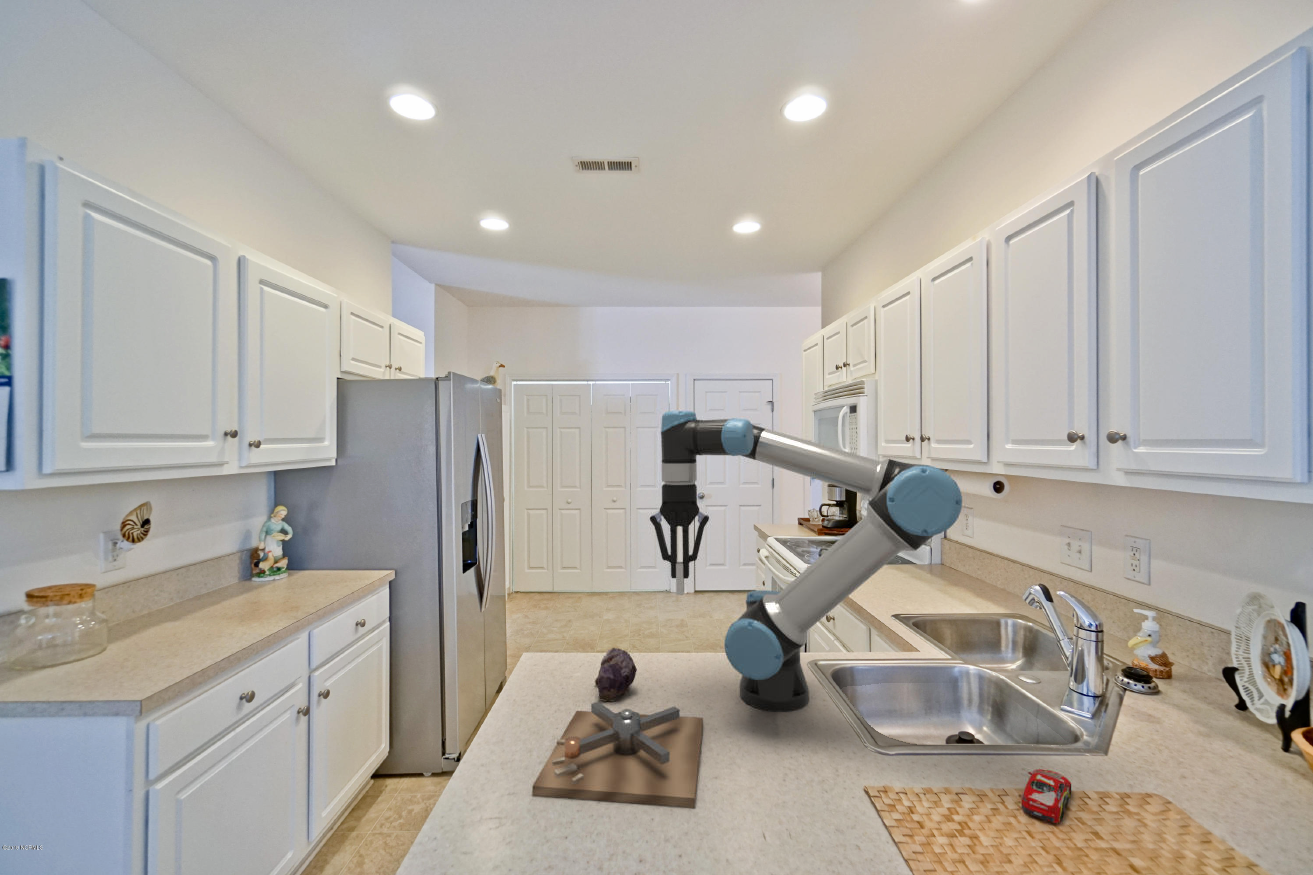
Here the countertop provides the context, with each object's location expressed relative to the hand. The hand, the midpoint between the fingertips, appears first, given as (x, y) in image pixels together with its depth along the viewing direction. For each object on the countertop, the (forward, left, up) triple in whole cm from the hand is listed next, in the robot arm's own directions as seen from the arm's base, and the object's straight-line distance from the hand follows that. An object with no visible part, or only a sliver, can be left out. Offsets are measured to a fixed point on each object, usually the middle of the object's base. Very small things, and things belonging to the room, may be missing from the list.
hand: (680, 593), depth 121 cm
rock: (+16, -6, -25) cm, 30 cm away
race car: (-59, +25, -25) cm, 69 cm away
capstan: (+8, +20, -23) cm, 31 cm away
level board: (+8, +20, -24) cm, 32 cm away
